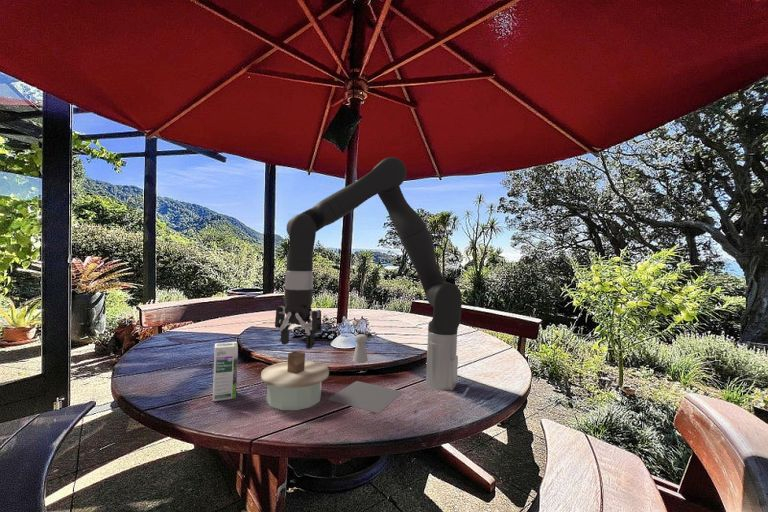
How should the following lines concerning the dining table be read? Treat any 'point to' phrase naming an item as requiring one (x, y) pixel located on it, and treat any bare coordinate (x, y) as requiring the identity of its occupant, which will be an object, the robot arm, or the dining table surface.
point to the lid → (295, 372)
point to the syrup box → (225, 371)
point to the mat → (366, 396)
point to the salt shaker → (360, 349)
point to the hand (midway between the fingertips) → (297, 346)
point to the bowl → (293, 397)
